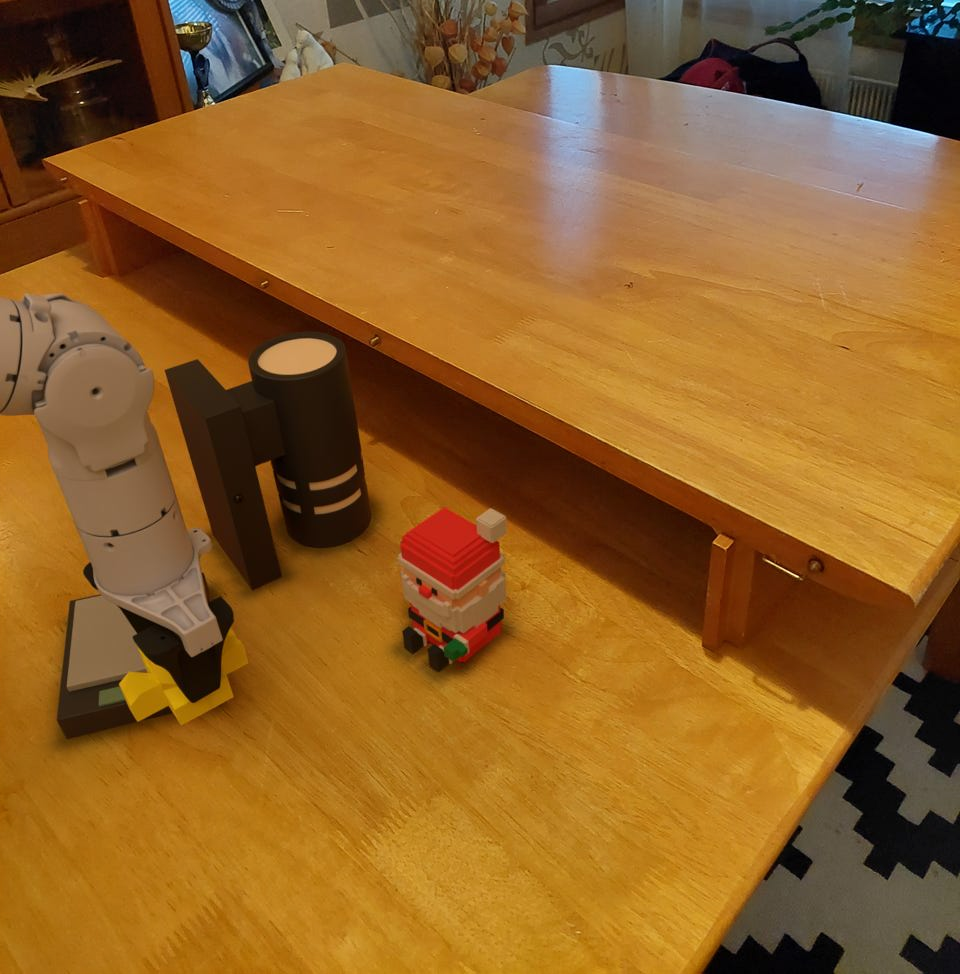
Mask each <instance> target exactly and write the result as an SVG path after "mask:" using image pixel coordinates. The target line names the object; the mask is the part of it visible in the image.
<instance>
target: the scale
mask: <svg viewBox="0 0 960 974" xmlns="http://www.w3.org/2000/svg"><path fill="white" fill-rule="evenodd" d="M202 576H203V581H204V586H205V592H206V597H207V602H208V603H209V602H211V598H210V597H211V595H210V588H209V585H208V582H207V579H206V576H205V573H204V572H203V571H202ZM136 634H137V633H136V631H135V630H134V629H133V627H132V626H131V624H130V623H129V621H128V620H127V618H126V617H125V615H124V614H123V612H122V611H121V609H120V608H119V607H118V606H117V605H116V604H113V603H111V602H109V601H108V600H106V599H105V598H104V597H102V595H101V594H100V593H99V594H96V595H90V596H86V597H82V598H76V599H71V600H70V601H69V605H68V615H67V623H66V632H65V639H64V640H65V642H64V650H63V660H62V669H61V678H60V687H59V696H58V705H57V712H56V722H57V724H58V726H59V728H60V730H61V731H62V733H63V735H64V738H65V739H71V738H75V737H79V736H83V735H87V734H91V733H96V732H100V731H105V730H108V729H112V728H116V727H117V728H118V727H121V726H125V725H129V724H133V723H138V722H137V720H136V719H135V717H134V715H133V714H132V712H131V710H130V708H129V707H128V704H127V702H126V700H125V697H124V695H123V693H122V690H121V688H120V686H119V683H120V682H121V681H122V680H123V678H124V677H125V676H126V675H127V674H128V672H129V671H132V672H142V673H148V672H147V670H146V667H145V665H144V662H143V660H142V657H141V655H140V652H139V650H138V646H137V645H136V643H135V642H134V640H133V638H132V637H133V636H134V635H136ZM171 714H173V712H172V711H171V709H170V707H169V706H167V707H165V708H163V709H161V710H159V711H157V712H156V713H154V714H152V715H150V716H148V717H146V718H144V719H142V720H141V721H140V722H142V721H146V720H150V719H154V718H159V717H162V716H167V715H171Z"/></svg>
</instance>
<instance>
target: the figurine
mask: <svg viewBox="0 0 960 974" xmlns="http://www.w3.org/2000/svg"><path fill="white" fill-rule="evenodd" d="M475 522H476V524H475V523H473V522H471V521H469V520H468V519H466V518H465V517H463V516H461V515H459V514H457V513H456V512H454V511H452V510H451V509H449V508H447V507H445V506H444V507H442V508H441V509H440V510H437V511H436V512H435V513H434V514H431V516H429V517H427V518H426V519H424V520H423V521H422V522H420V523H418V524H417V525H416V526H414V527H413V528H411V529H410V530H408V531H407V532H405V534H404V535H402V536H401V541H400V546H399V547H400V553H398V554H397V563H398V565H399V566H400V567H402V570H401V571H400V572H399V573H400V578H401V580H400V581H401V586H402V594H403V599H404V600H405V601H407V602H408V603H409V604H410V606H409V607H408V608H407V613H408V618H409V619H411V620H412V626H410V625H408V626H407V627H406V628H404V629H403V630H401V632H402V640H403V646H404V649H406V650H407V651H408V652H410V653H411V654H414V653H416V652H417V651H418V650H420V649H421V648H422V647H425V648H426V647H427V646H428V643H431V644H432V645H431V646H429V647H428V648H427V654H428V663H429V667H431V668H432V669H434V671H436V672H440V671H442V669H444V668H445V667H446V666H448V665H449V666H451V665H453V663H454V662H456V661H457V662H458V663H461V662H462V663H466V662H467V661H468V660H470V658H472V657H473V656H474V655H475V654H477V653H478V652H479V651H480V650H481V649H482V648H484V647H485V646H486V645H487V644H488V643H490V642H491V641H492V640H493V639H495V638H496V637H497V636H499V635H500V634H501V633H502V620H504V619H505V610H504V608H502V607H501V605H502V604H503V603H504V602H506V601H507V581H506V572H505V571H504V570H502V569H501V568H502V567H503V566H504V565H506V560H505V559H506V558H505V554H503V553H501V549H500V548H501V547H500V541H498V540H499V539H501V538H502V537H504V536H505V535H507V534H508V529H507V528H508V526H507V516H506V515H505V514H503V513H501V512H500V511H497V510H495V509H493V508H491V507H490V508H488V509H487V510H485V511H484V512H482V513H480V515H479V516H476V517H475ZM412 627H413V628H412Z"/></svg>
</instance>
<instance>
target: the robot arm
mask: <svg viewBox="0 0 960 974" xmlns="http://www.w3.org/2000/svg"><path fill="white" fill-rule="evenodd" d="M154 393H155V376H154V371H153V370H152V369H151V368H147V367H146V365H145V362H144V360H143V357H142V356H141V354H140V353H139V352H138V350H137V349H136V348H135V346H133V345H132V344H131V343H130V342H129V341H128V339H126V338H125V337H124V336H123V335H122V334H121V333H120V332H119V331H118V330H117V329H116V328H115V327H114V326H113V325H112V324H111V323H110V322H109V321H108V320H107V319H106V318H105V317H104V316H103V315H102V314H101V313H100V312H98V311H97V310H95V309H94V308H93V307H91V306H89V305H87V303H83V302H81V301H80V300H79V301H78V300H75V299H72V298H70V297H69V296H67V295H66V294H64V293H61V292H59V293H48V294H43V295H37V294H32V293H29V292H26V293H24V294H23V295H22V300H17V299H12V298H7V297H1V296H0V416H5V417H6V416H7V417H15V416H35V419H36V421H37V422H38V425H39V428H40V430H41V432H42V433H41V434H42V436H43V438H44V440H45V443H46V445H47V455H48V456H47V457H48V460H49V463H50V466H51V468H52V471H53V473H54V476H55V478H56V481H57V483H58V485H59V488H60V490H61V493H62V496H63V498H64V500H65V502H66V505H67V507H68V510H69V512H70V515H71V518H72V520H73V522H74V525H75V527H76V530H77V532H78V535H79V538H80V540H81V543H82V545H83V547H84V549H85V553H86V554H87V557H88V559H89V562H88V563H87V564H86V565H85V566H84V568H83V570H82V572H83V576H84V577H85V579H86V580H87V581H88V583H89V584H90V586H91V587H92V588H93V589H95V590H97V591H98V593H99V594H101V595H102V597H104V598H105V599H106V600H108V601H109V602H111V603H113V604H116V605H117V606H118V607H119V608H120V609H121V611H122V612H123V614H124V615H125V617H126V618H127V620H128V621H129V623H130V624H131V626H132V627H133V629H134V630H135V631H136V633H137V634H136V635H134V636H133V637H132V638H133V640H134V642H135V643H136V645H137V646H138V647H139V649H140V650H141V651H142V652H143V654H144V655H145V656H146V657H147V658H148V659H149V660H150V661H152V662H153V663H154V664H155V665H158V666H160V667H162V668H164V669H165V670H167V671H168V672H169V673H170V675H171V677H172V678H173V680H174V681H175V683H176V684H177V686H178V687H179V689H180V690H181V691H182V693H183V694H184V695H185V696H186V698H187V699H188V700H189V701H190V702H191V703H195V702H197V701H199V700H200V699H202V698H204V697H206V696H207V695H209V694H211V693H212V692H214V691H216V690H217V689H219V688H220V684H221V662H222V650H223V645H224V642H225V639H226V636H227V634H228V632H229V630H230V628H232V626H233V624H234V623H235V615H234V610H233V608H232V606H231V605H230V604H229V602H227V601H226V600H225V599H224V597H223V596H221V595H220V596H218V597H216V598H214V599H212V600H210V602H209V603H208V602H207V597H206V592H205V586H204V581H203V576H202V572H203V571H202V567H201V566H202V565H201V557H202V556H203V555H205V554H207V553H209V552H210V551H211V550H212V549H213V544H212V540H211V538H210V536H209V535H208V534H207V533H206V532H205V531H204V530H203V529H201V528H200V527H193V528H191V529H188V528H187V525H186V522H185V519H184V516H183V513H182V510H181V506H180V504H179V500H178V497H177V493H176V490H175V486H174V483H173V479H172V477H171V473H170V471H169V467H168V464H167V461H166V457H165V455H164V452H163V448H162V445H161V442H160V438H159V435H158V432H157V429H156V428H155V426H154V424H153V423H152V421H151V417H150V415H149V412H148V410H149V408H150V406H151V404H152V401H153V397H154Z"/></svg>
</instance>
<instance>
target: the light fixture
mask: <svg viewBox="0 0 960 974" xmlns="http://www.w3.org/2000/svg"><path fill="white" fill-rule="evenodd" d="M347 354H348V353H347V348H346V346H345V344H344V343H343V341H342V340H341V339H339V338H338V337H336V336H335V335H331V334H328V333H325V332H319V331H297V332H290V333H285V334H281V335H278V336H275V337H273V338H270V339H268V340H266V341H264V342H262V343H261V344H259V345H258V346H256V348H254V349H253V350H252V351H251V353H250V354H249V357H248V360H247V365H248V369H249V370H248V371H249V373H250V379H251V380H250V381H248V382H245V383H241V384H239V385H236V386H234V387H230V388H227V389H226V388H225V387H224V386H223V385H222V383H221V382H219V380H218V379H216V377H215V376H214V375H213V374H212V373H211V372H210V371H209V369H207V368H206V366H205V365H204V364H203V363H202V362H201V361H200V359H198V358H197V359H193V360H190V361H187V362H184V363H181V364H178V365H175V366H172V367H168V368H166V369H164V373H165V376H166V380H167V383H168V384H167V385H168V387H169V390H170V391H169V392H170V394H171V397H172V401H173V404H174V408H175V411H176V415H177V418H178V421H179V425H180V428H181V431H182V434H183V438H184V442H185V445H186V448H187V452H188V455H189V459H190V462H191V465H192V468H193V472H194V475H195V479H196V482H197V485H198V489H199V491H200V497H201V500H202V502H203V506H204V509H205V512H206V513H205V514H206V517H207V519H208V523H209V526H210V530H211V534H212V536H213V538H215V540H216V542H217V543H218V544H219V546H220V547H221V549H222V550H223V552H224V553H225V554H226V556H227V557H228V558H229V560H230V561H231V563H232V564H233V566H234V567H235V569H236V570H237V571H238V573H239V574H240V576H241V577H242V578H243V580H244V581H245V583H246V584H247V585H248V587H249V588H250V590H251V591H253V590H256V589H258V588H260V587H262V586H264V585H267V584H269V583H272V582H273V581H276V580H278V579H280V578H282V576H283V575H282V569H281V567H280V562H279V558H278V554H277V550H276V546H275V542H274V537H273V534H272V529H271V525H270V522H269V517H268V513H267V508H266V505H265V501H264V496H263V493H262V488H261V483H260V480H259V476H258V472H257V467H258V466H260V465H263V464H265V463H268V462H270V466H271V468H272V474H273V478H274V483H275V486H276V491H277V494H278V500H279V504H280V505H279V506H280V510H281V513H282V518H283V522H284V526H285V530H286V532H287V534H288V536H289V537H290V538H291V539H292V540H293V541H294V542H295V543H298V544H300V545H302V546H306V547H310V548H332V547H337V546H340V545H341V546H342V545H343V544H346V543H349V542H351V541H353V540H354V539H356V538H357V537H359V536H360V535H362V534H363V532H365V530H366V529H367V528H368V527H369V525H370V523H371V519H372V510H371V503H370V498H369V497H370V496H369V490H368V484H367V478H366V471H365V464H364V458H363V454H362V445H361V438H360V433H359V427H358V426H359V425H358V419H357V412H356V405H355V401H354V394H353V388H352V381H351V374H350V367H349V360H348V355H347Z"/></svg>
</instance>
